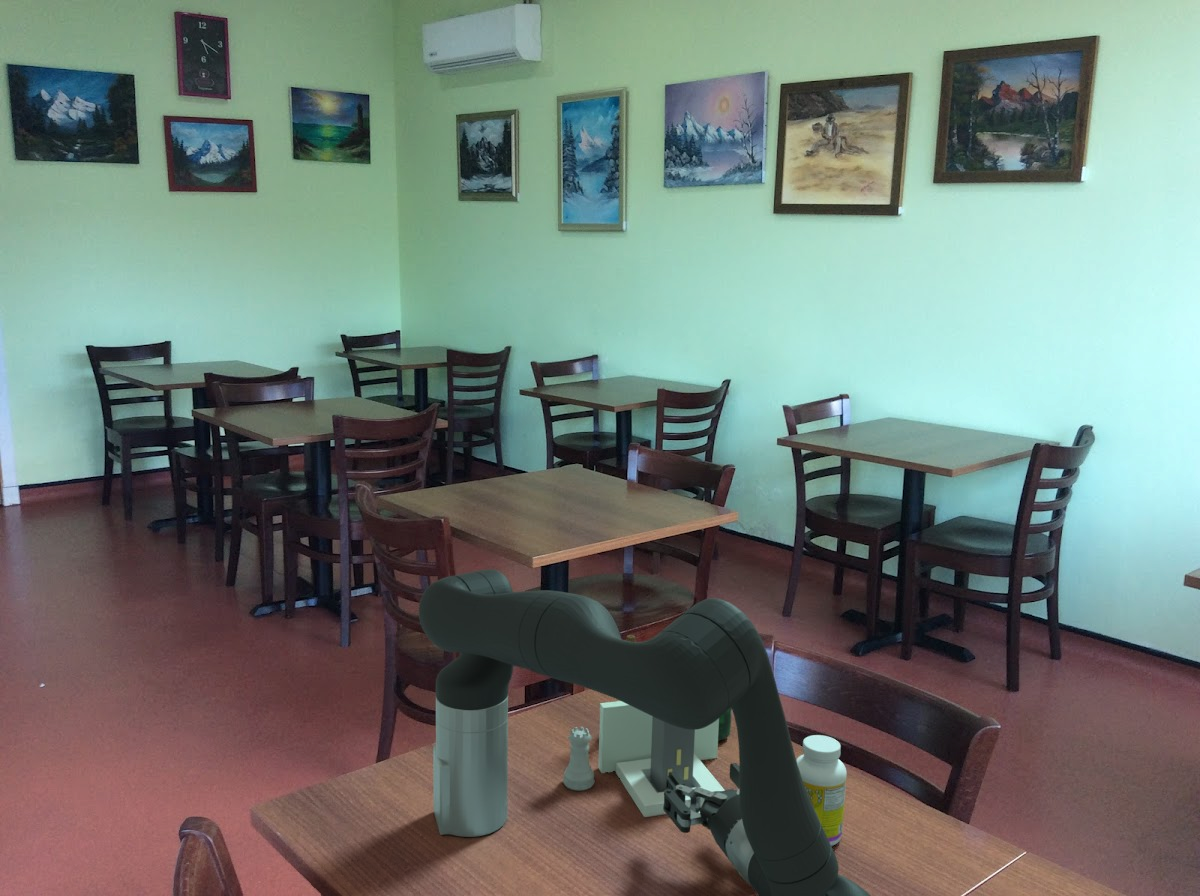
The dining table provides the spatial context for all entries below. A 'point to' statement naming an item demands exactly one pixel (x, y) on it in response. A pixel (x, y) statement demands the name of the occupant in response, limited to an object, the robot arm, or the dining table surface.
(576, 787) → the rook chess piece
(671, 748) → the plug
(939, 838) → the dining table surface
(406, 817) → the dining table surface
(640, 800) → the socket
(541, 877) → the dining table surface
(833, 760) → the supplement bottle
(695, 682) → the robot arm
